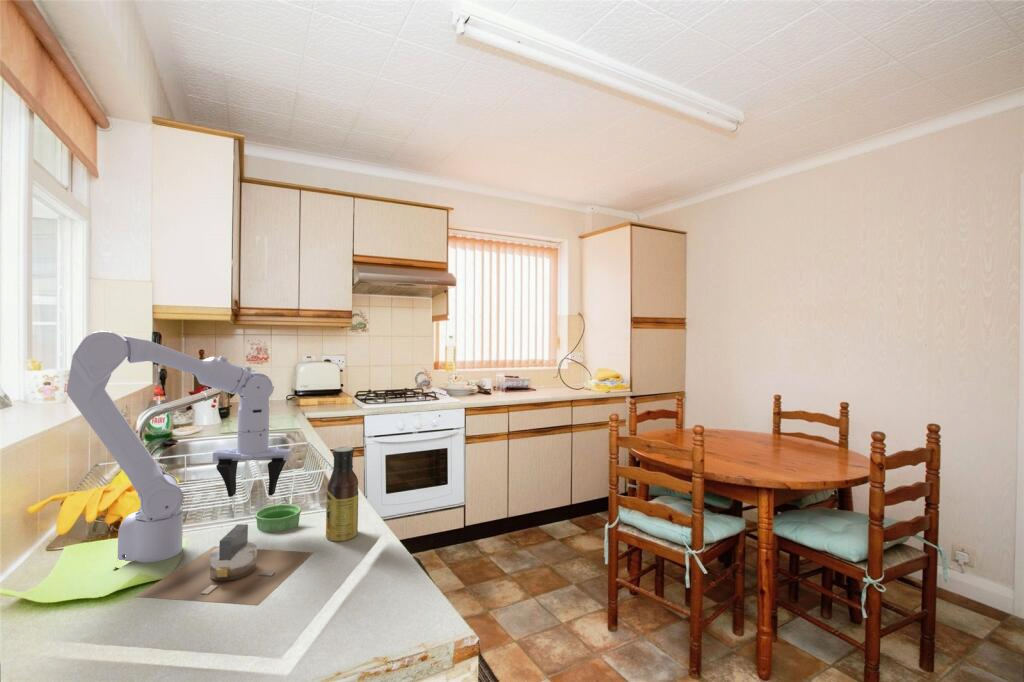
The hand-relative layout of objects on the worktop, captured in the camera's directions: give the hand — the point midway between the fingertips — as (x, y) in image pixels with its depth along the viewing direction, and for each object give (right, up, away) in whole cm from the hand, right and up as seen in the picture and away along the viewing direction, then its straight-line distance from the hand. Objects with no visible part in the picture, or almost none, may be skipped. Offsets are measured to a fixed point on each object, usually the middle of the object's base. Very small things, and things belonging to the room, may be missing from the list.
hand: (252, 494), depth 100 cm
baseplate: (+6, -10, -16) cm, 20 cm away
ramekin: (+3, -10, +5) cm, 11 cm away
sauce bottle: (+19, -10, 0) cm, 21 cm away
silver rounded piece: (+6, -8, -16) cm, 19 cm away
